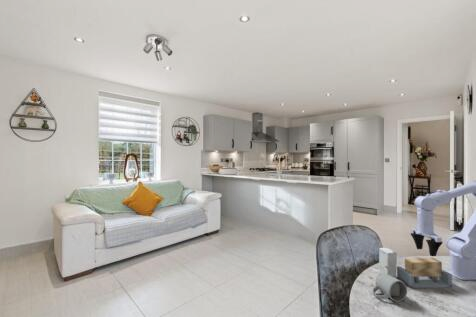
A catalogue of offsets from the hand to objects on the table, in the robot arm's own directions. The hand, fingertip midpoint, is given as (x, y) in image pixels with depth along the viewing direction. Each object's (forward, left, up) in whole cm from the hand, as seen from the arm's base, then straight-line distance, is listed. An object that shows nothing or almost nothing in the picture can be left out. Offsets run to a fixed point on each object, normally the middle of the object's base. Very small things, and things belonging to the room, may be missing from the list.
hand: (426, 252), depth 105 cm
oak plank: (+7, +7, -6) cm, 12 cm away
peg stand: (+7, +7, -10) cm, 14 cm away
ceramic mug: (+28, +17, -10) cm, 34 cm away
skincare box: (+19, +2, -10) cm, 22 cm away
